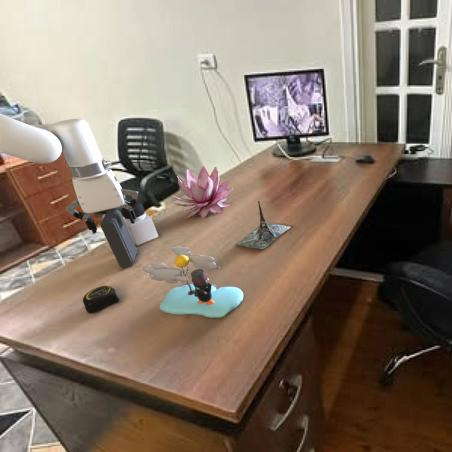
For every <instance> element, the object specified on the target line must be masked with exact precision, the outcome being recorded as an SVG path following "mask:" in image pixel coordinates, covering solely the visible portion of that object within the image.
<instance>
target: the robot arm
mask: <svg viewBox="0 0 452 452" xmlns="http://www.w3.org/2000/svg"><path fill="white" fill-rule="evenodd" d="M0 153H1V154H5V155H8V156H11V157H15V158H18V159H20V160H24V161H27V162H31V163H35V164H43V165H44V164H50V163H53V162H55V161H56V160H58V159H59V158H60V157H61V154H63V157H64V159H65V162H66V163H67V165H68V167H69V169H70V171H71V173H72V177H71V181H72V186H73V189H74V192H75V197H76V199H75V200H74V201H73V202H71V203H70V204H69V205H67V206H66V208H65V211H66V212H67V213H69V214H70V215H72V216H73V217H74V218H76V219H79V220H81V221H82V222H84V223H85V225H86V227H87V229H88V231H91V232H92V234H93V235H95V234H96V233H97V232H98V227H97V225H96V223H95V221H94V218H93V217H92V216H91V214H96V213H99V212H104V211H109V210H114V209H118V208H120V207H121V208H125V209H127V214H128V216H129V219H130V221H131V224H135V219H136V215H135V213H134V210H133V207H134V206H135V204H136V203H138V197H139V191H137V190H132V189H127V188H122V186H121V184H120V182H119V181H118V178H117V177H116V175H115V173H114V172H113V171H112V169H111V168H108V167H112V165H113V164H112V161H111V160H105V159H104V157H102V154H101V151H100V149H99V147H98V144H97V142H96V140H95V137H94V135H93V132H92V130H91V127H90V126H89V123H88V122H87V121H86V120H84V119H82V118H71V119H69V118H68V119H64V120H60V121H56V122H54V123H44V124H28V123H25V122H22V121H20V120H17V119H15V118H12V117H9V116H7V115H5V114H2V113H0ZM126 196H128V197H129V196H130V197H131V198H132V199H131V200H130V201H128V200H126ZM78 206H80V208H81V210H82V211H83V212H81V211H79V210H77V209H76V208H77V207H78Z"/></svg>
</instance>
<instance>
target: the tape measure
mask: <svg viewBox="0 0 452 452" xmlns="http://www.w3.org/2000/svg"><path fill="white" fill-rule="evenodd" d="M82 303H83V306H84V309H85V312H86V313H87V314H90V315H91V314H96V313H98V312H100V311H102V310H104V309H106V308H109V307H110V306H112V305H115V304H118V303H120V299H119V297H118V295H117V293H116V290H115V288H114V287H113V286H110V285H101V286H97V287H95V288H93V289H91V290H89V291H88V292H87V293H85V295H84V296H83V298H82Z"/></svg>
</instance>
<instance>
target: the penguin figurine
mask: <svg viewBox="0 0 452 452" xmlns="http://www.w3.org/2000/svg"><path fill="white" fill-rule="evenodd" d="M170 251H172V252H173V253H174V255H175V256H176V257H175V259H174V265H176V267H172V266H167V265H166V264H165V263H162V262H159V263H152V264H151V265H145V266H142V271H143V272H145V273H147V274H149V278H150V279H151V280H154V281H157V282H159V281H160V282H162V281H163V282H166V283H168V284H175V283H179V285H181V286H176V287H172V288H171V289H170V290H169V291H168V292H167V294H166V295H165V297H164V299H163V301H162V302H161V304H160V305H159V310H161V311H162V312H164V313H167V314H171V315H176V316H177V315H179V316H181V315H200V316H203V317H206V318H211V319H213V318H215V319H216V318H224V317H225V316H226V315H227V314H229V313H230V312H231V311H233V310H234V309H236V308H237V307H238V306H239V305H240V304H241V303H242V302H243V299H244V292H243V291H242V290H241V289H240V288H239V287H235V286H222V285H221V286H219V288H216V286H217V285H216V284H215V283H211V282H209V281H210V279H209V276H207V275H206V273H205V270H204V269H208V270H215V269H217V268H218V269H222V267H221V266H219V265H217V263H216V262H215V259H214V257H212V256H211V255H203V254H192V252H191V251H190V249H189V247H187V246H181V245H173V246H171V248H170ZM190 262H191V263H192V264H193V266H194V267H195V268H197V269H194V270H191V269H190V268H189V267H188V265H189V264H190ZM177 267H178V268H177ZM185 267H186V268H185ZM184 268H185V270H186V271H185V270H184ZM190 271H191V272H190ZM189 272H190V277H191V278H190V277H189V276H188V275H187V274H188V273H189ZM190 280H191V283H189V282H190ZM183 282H186V284H183Z"/></svg>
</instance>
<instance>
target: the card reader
mask: <svg viewBox="0 0 452 452" xmlns="http://www.w3.org/2000/svg"><path fill="white" fill-rule="evenodd" d="M124 219H125V218H124V216H123V213H122V211H121V210H119V209H118V208H113V209H109V210H106V212H105V213H104V216H103V218H102V220H101V221H100V223H99V225H100V228H101V231H102V232H103V234H104V237H105V239H106V241H107V243H108V245H109V247H110V250H111V251H112V253H113V255H114V258H115V260H116V262H117V264H118V266H119V267H120V268H128V267H131V266H132V265H134V263H135V260H136V259H135V258H136V255H137V253H138V249H137V246H136V244H135V243H134V242H133V240H132V237H131V235H130V233H129V230H128V228H127V226H126V223H125V221H124Z"/></svg>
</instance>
